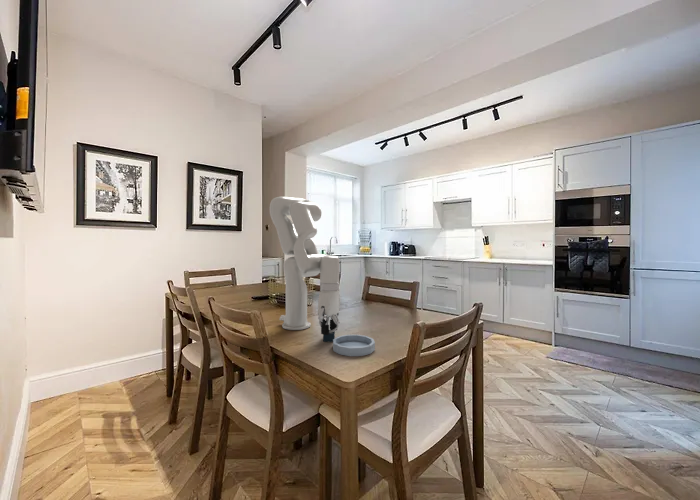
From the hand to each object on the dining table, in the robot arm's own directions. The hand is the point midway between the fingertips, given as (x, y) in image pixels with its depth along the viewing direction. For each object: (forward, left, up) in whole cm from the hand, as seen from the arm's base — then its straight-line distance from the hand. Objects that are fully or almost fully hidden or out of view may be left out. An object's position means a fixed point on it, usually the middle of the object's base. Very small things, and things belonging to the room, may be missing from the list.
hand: (329, 331), depth 129 cm
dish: (+13, -5, -3) cm, 14 cm away
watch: (0, 0, -3) cm, 3 cm away
